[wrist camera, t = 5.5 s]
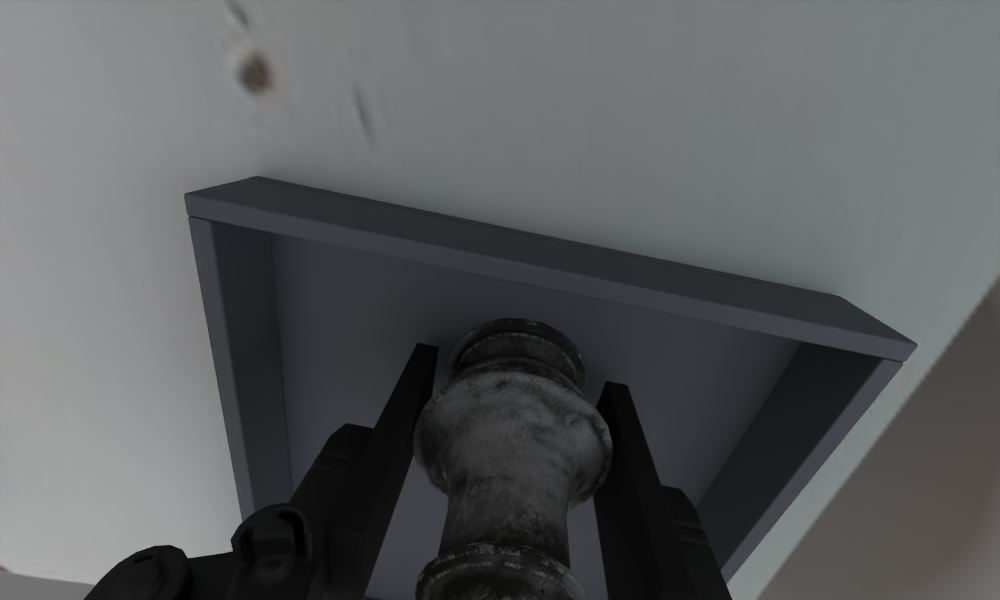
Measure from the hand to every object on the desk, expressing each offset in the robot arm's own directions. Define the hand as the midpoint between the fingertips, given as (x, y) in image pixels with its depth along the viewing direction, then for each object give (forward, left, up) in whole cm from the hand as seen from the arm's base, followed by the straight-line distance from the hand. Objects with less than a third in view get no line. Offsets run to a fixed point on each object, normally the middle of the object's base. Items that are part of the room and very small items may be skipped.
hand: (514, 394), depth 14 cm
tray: (+3, +5, -1) cm, 6 cm away
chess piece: (0, 0, -1) cm, 1 cm away
